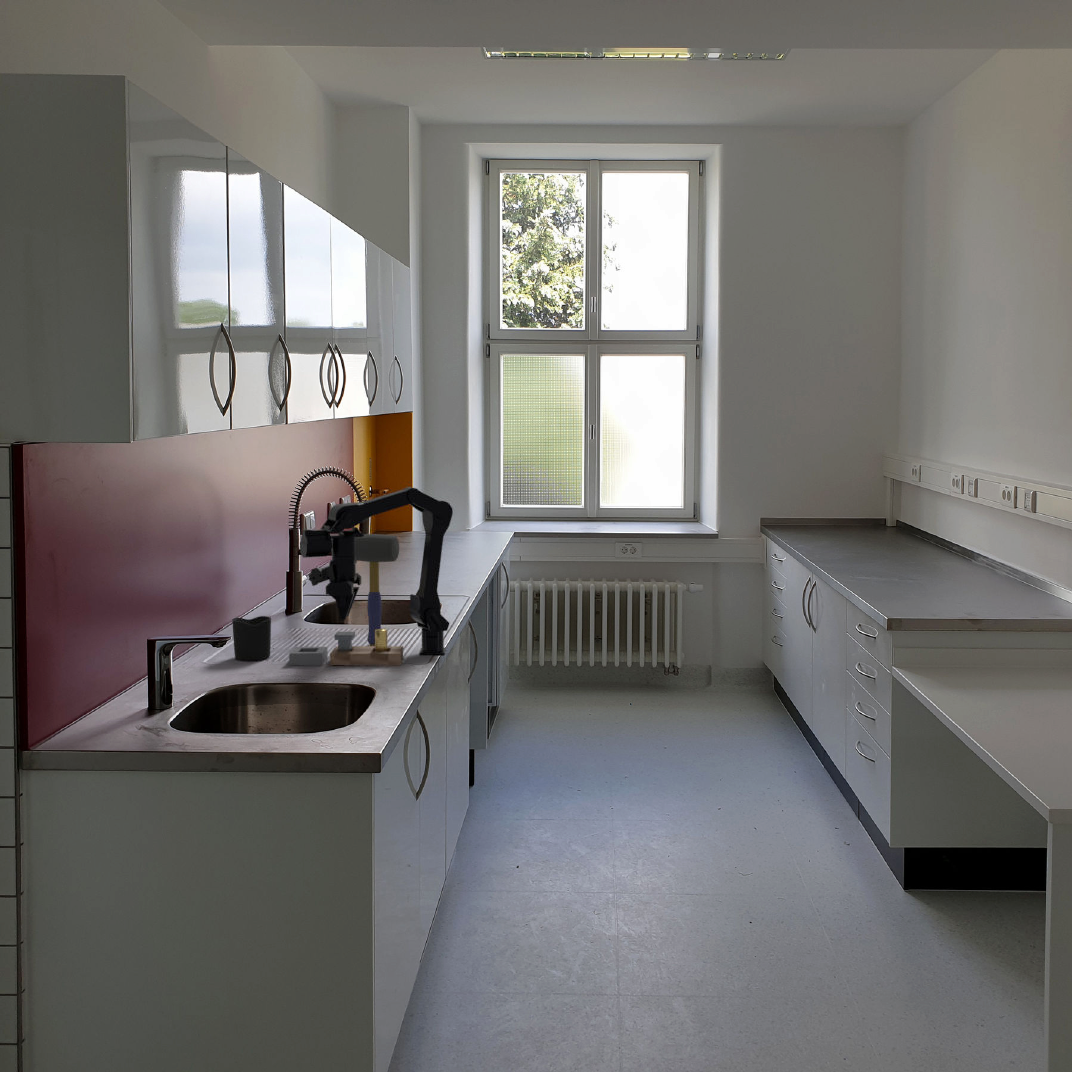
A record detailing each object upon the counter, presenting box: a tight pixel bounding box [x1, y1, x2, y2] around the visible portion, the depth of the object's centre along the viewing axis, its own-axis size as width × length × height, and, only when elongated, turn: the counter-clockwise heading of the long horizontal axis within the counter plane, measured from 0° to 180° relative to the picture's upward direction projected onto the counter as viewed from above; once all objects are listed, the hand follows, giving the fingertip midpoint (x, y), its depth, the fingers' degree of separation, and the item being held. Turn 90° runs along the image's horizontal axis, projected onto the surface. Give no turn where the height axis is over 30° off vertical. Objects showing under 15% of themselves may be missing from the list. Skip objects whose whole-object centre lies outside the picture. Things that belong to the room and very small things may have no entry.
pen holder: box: [231, 615, 272, 662], centre depth 268 cm, size 9×9×10 cm
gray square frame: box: [288, 646, 329, 666], centre depth 264 cm, size 8×8×3 cm
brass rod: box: [375, 628, 388, 652], centre depth 264 cm, size 3×3×8 cm
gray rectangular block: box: [334, 631, 356, 651], centre depth 264 cm, size 4×4×5 cm
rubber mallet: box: [355, 533, 400, 646], centre depth 283 cm, size 12×8×30 cm, turn 78°
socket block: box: [329, 645, 404, 667], centre depth 264 cm, size 9×17×3 cm, turn 92°
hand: (344, 618), depth 263 cm, fingers open, 5 cm apart
